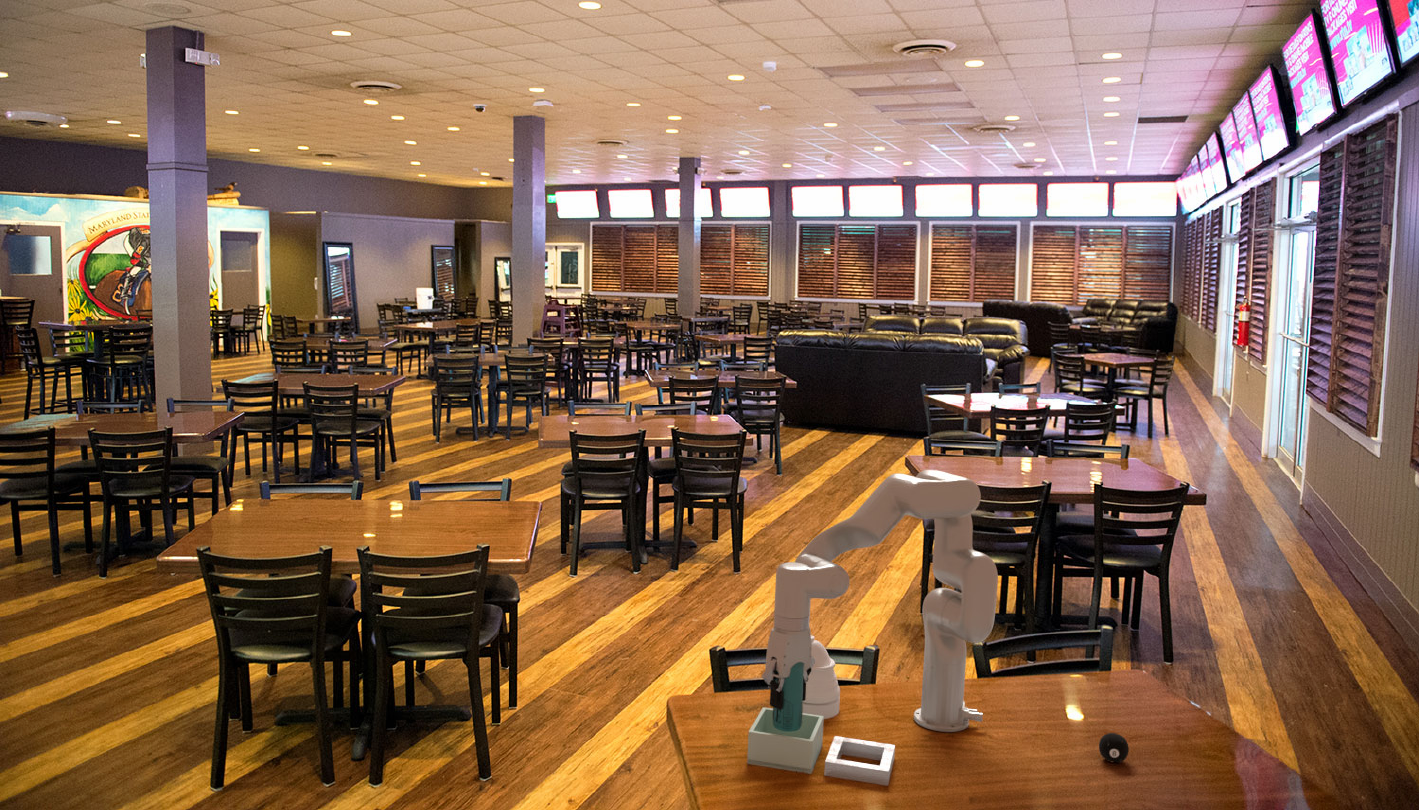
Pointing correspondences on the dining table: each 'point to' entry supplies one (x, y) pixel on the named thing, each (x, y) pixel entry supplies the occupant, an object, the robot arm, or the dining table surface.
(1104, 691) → the dining table surface
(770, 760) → the bin
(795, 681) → the beverage bottle
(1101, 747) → the billiard ball
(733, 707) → the dining table surface
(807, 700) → the honey pot
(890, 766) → the socket frame
